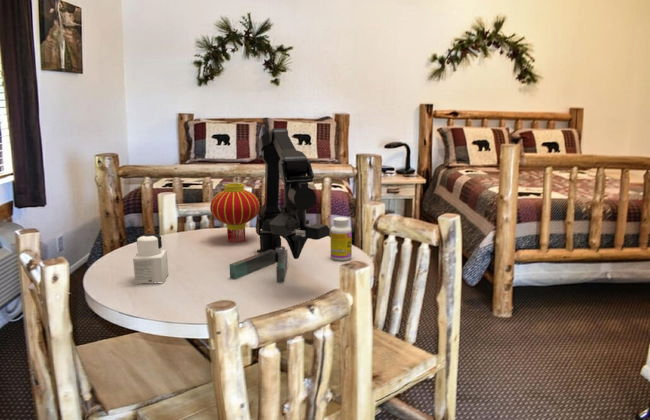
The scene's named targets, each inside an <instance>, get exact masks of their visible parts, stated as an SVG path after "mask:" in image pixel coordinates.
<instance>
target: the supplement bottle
mask: <svg viewBox="0 0 650 420" xmlns="http://www.w3.org/2000/svg"><path fill="white" fill-rule="evenodd" d="M349 221H350V220H349V218H348V217H345V216H344V217H343V216H337V217H334V218H333V224H334V225H333V226H331V228H330V258H331V259H332V260H333V261H337V260H338V261H340V262H343V261H349V260H350V259H352V250H353V247H352V246H353V245H352V243H353V242H352V240H353V239H352V237H353V236H352V235H353V232H352V227H351V226H349V225H348V224H349Z"/></svg>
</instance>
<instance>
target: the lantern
mask: <svg viewBox="0 0 650 420" xmlns="http://www.w3.org/2000/svg"><path fill="white" fill-rule="evenodd" d="M234 166H235V165H234V164H232V168H233V171H232V172H233V173H232V174H233V175H235V169H234ZM260 208H261V206H260V201H259V199H258V197H257V196H256V194H254V193H252V192H251V191H249V190H247V189H246V188H245V185H244V183H236V182H233V183H226V184H224V189H223V190H222V191H220V192H218V193H217V194H216V195H215V196H214V197H213V198H212V200H211V202H210V205H209V210H210V212H211V215H212V216H213V217H214V218H215V219H216V220H217V221H218V222H220V223H222V224H225V225H226V228H227V229H226V230H227V231H226V232H227V241H228V243H235V244H236V243H237V244H238V243H243V242H245V241H246V240H247V239H246V224H247V223H249V222H250V221H252V220H254V219H255V218H256V217H257V215H259V210H260Z"/></svg>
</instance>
